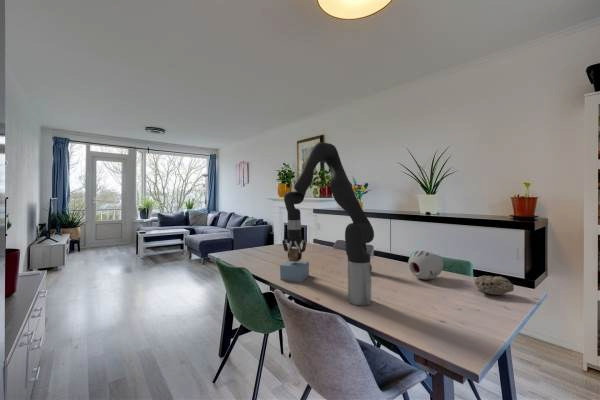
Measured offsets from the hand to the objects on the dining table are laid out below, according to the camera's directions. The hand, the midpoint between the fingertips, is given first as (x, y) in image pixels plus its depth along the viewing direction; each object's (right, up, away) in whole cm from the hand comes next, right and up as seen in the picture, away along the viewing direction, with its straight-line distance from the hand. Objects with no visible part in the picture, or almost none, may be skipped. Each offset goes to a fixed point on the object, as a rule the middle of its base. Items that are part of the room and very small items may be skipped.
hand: (294, 259), depth 148 cm
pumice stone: (+88, -9, -29) cm, 93 cm away
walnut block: (0, -1, 0) cm, 1 cm away
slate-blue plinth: (0, -10, 0) cm, 10 cm away
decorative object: (+70, -9, -5) cm, 71 cm away
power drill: (+37, -9, +12) cm, 40 cm away
